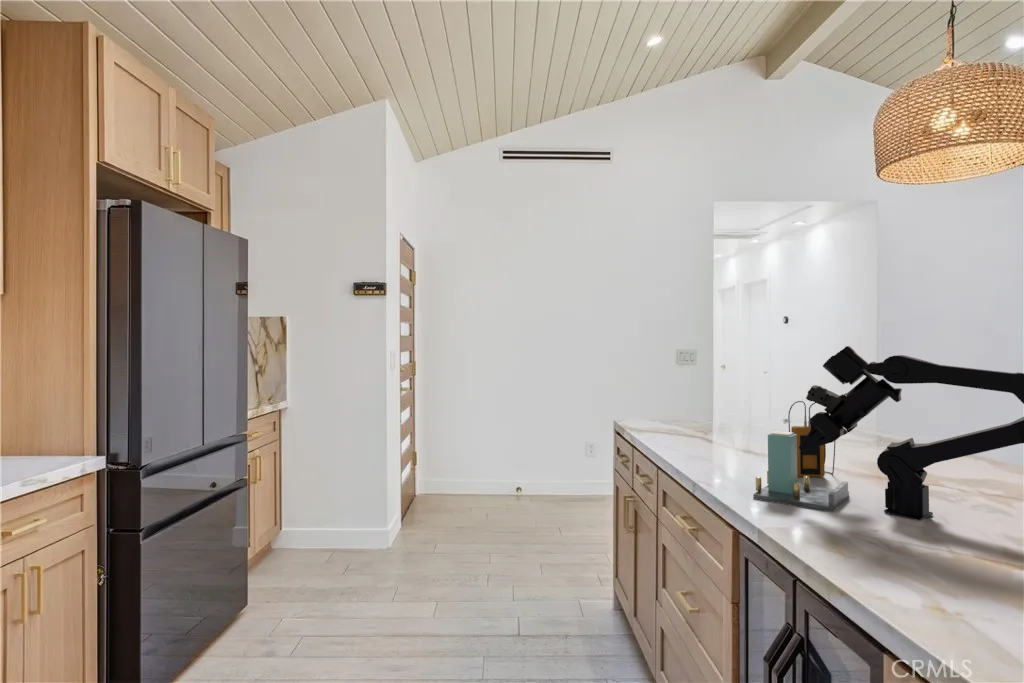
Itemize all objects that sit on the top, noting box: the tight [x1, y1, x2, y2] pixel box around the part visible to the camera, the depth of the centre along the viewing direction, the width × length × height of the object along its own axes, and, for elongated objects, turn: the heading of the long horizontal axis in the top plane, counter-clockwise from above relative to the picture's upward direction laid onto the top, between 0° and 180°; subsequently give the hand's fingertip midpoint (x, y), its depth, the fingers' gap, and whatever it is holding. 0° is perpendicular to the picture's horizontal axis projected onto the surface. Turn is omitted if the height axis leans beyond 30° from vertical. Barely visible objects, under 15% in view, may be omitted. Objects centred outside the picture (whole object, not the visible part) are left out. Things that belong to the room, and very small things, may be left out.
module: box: [767, 430, 798, 494], centre depth 129 cm, size 5×5×13 cm
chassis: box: [753, 470, 850, 513], centre depth 127 cm, size 17×16×4 cm
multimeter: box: [787, 400, 836, 478], centre depth 150 cm, size 15×10×20 cm
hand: (805, 446), depth 126 cm, fingers open, 9 cm apart
